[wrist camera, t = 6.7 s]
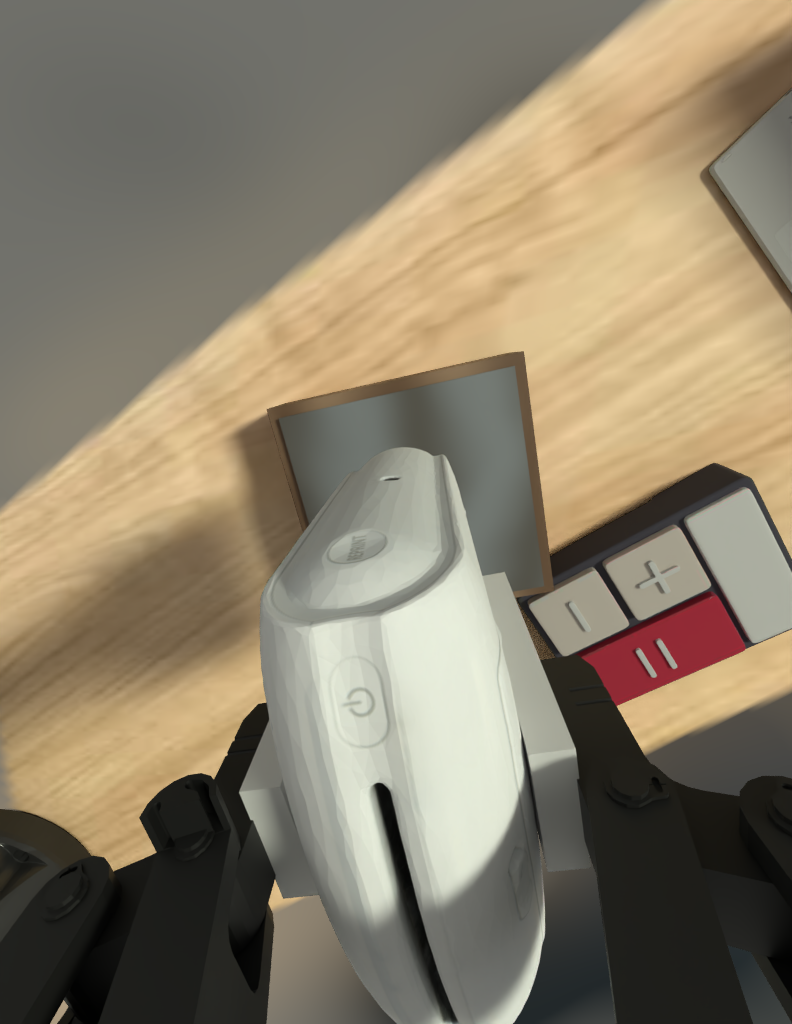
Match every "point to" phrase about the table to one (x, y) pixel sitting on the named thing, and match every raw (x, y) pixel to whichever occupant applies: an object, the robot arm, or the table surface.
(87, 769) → the table surface
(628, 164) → the table surface
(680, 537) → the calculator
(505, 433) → the mirror
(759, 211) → the laptop
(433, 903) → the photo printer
